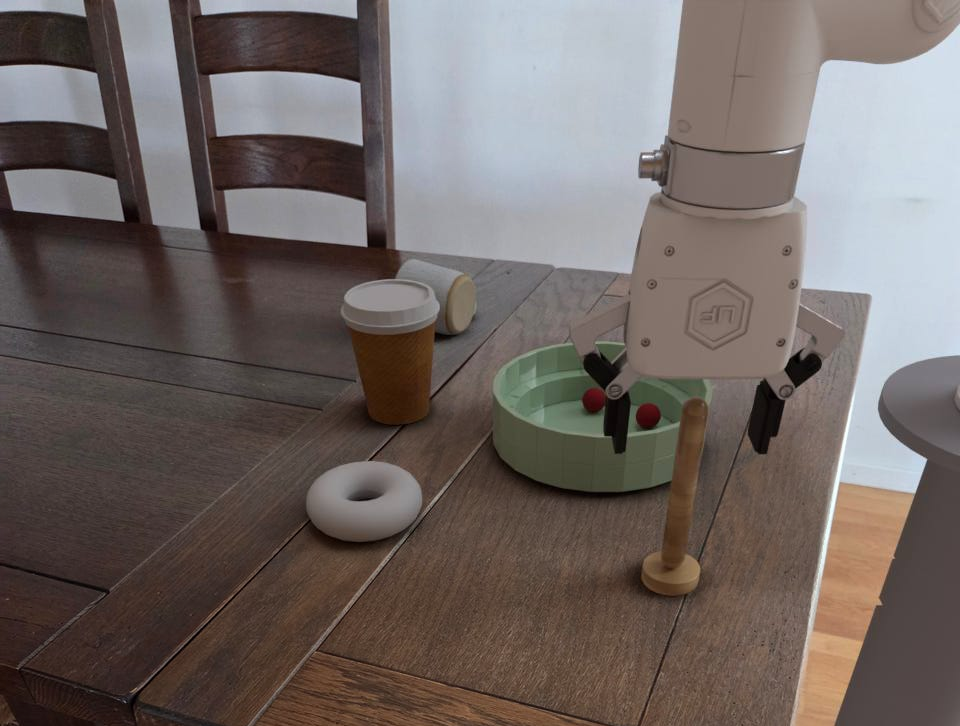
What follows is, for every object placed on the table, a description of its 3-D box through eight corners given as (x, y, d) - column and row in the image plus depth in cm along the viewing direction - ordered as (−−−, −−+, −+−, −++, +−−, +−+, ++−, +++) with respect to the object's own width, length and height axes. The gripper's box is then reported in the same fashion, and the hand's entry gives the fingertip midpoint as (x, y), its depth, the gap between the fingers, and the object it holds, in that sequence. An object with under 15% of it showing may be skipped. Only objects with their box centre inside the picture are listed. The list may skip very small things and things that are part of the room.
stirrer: (693, 562, 71) (723, 383, 61) (702, 596, 68) (736, 412, 58) (638, 562, 71) (659, 383, 61) (644, 596, 68) (668, 413, 58)
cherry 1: (604, 405, 91) (605, 383, 89) (606, 416, 89) (607, 394, 88) (580, 405, 91) (582, 383, 90) (582, 416, 89) (583, 394, 88)
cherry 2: (657, 421, 88) (660, 398, 87) (660, 432, 86) (663, 410, 85) (633, 421, 88) (635, 399, 87) (636, 433, 86) (638, 410, 85)
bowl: (685, 395, 94) (693, 340, 90) (720, 497, 78) (731, 436, 75) (494, 397, 94) (494, 342, 90) (492, 498, 79) (491, 437, 75)
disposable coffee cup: (418, 440, 87) (409, 319, 80) (335, 422, 91) (319, 304, 83) (460, 400, 94) (456, 284, 86) (381, 385, 97) (371, 272, 89)
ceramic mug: (451, 346, 105) (449, 279, 100) (392, 334, 107) (387, 268, 103) (492, 316, 112) (492, 253, 107) (436, 306, 115) (433, 244, 110)
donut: (418, 551, 73) (428, 486, 81) (415, 516, 71) (426, 452, 78) (298, 550, 74) (319, 485, 81) (292, 516, 71) (314, 452, 79)
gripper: (582, 192, 48) (565, 471, 59) (904, 191, 48) (826, 472, 59) (574, 159, 54) (560, 419, 65) (862, 158, 53) (798, 420, 64)
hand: (687, 444), depth 62 cm, fingers open, 9 cm apart
